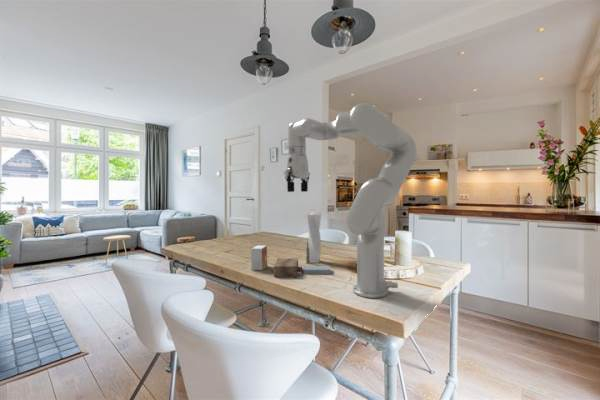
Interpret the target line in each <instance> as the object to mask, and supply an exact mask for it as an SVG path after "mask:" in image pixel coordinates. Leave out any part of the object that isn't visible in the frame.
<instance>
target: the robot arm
mask: <svg viewBox="0 0 600 400" xmlns="http://www.w3.org/2000/svg"><path fill="white" fill-rule="evenodd" d="M287 131H288V132H287V136H288V137H287V138H288V140H287V142H288V155H287V162H286V167H287V168H286V169H285V170H283V174H284V178H285V180H286V183H287V184H286V185H287V189H286V190H287V193H293V192H295V181H294V180H295V179H300V181H301V182H300V192H303V193H304V192H308V185H309V184H308V183H309V180H310V176H311V173H310V171H309V162H308V157H307V147H306V146H307V144H306V143H307V142H306V139H307V138H308V139H311V140H312V139H313V140H314V141H329V140H336V139H339V138H341V137H343V136H351V135H359V134H362V135H363V136H364V137H366V138H367V140H369V141H370V142H371V143H372V144H373V145H374V146H376V147H377V148H379V149H381V150H384V151H385V152H386V151H387V152H388V153H389V154H390V155H389V156H388V158H387V160H386V161H385V162H384V164H383V166H382V168H381V170H380V172H379V173H378V176H377V177H374V178H370V179H368V180H366V181H365V182H364V183H363V184H362V185H361V186H360V188H359V190H358V192H357V194H356V195H355V198H354V200H353V201H352V204H351V206H350V208H349V210H348V212H347V215H346V218H345V219H346V221H345V222H346V227H347V228H348V230H349V232H351V233H352V234H353V235H357V239H356V279H357V280H356V284H354V286H352V292H353V293H354V294H356V295H358V296H360V297H363V298H369V299H370V298H371V299H376V298H377V299H378V298H385V297H387V296H388V295H389V289H390V288H392V289H398V288H399V284H398V281H397V282H393V281H392V280H388V281H387V280H386V279H385V267H384V266H385V263H384V261H385V255H384V254H385V231H386V216H385V214H384V211H383V210H382V209H383V208H384V207H386V206H389V205H391V204H392V203H393V202H394V201H395V200H396V198H397V196H398V194H399V193H400V190H401V188H402V186H403V184H404V182H406V179H407V177H408V174H409V173H410V171H411V169H412V167H413V165H414V164H415V161H416V157H417V145H416V143H415V140H414V139H413V137H412V136H411V134H410V133H409V132H408V131H407V130H405V129H404V128H402V127H400V126H399V125H397V124H396V123H394V122H392V121H391V120H390V119H388V117H386V116H385V115H383V112H382V111H381V110H380V109H379V108H377V107H376V106H375V105H373V104H371V103H369V102H368V103H367V102H360V103H358V104H356V105H355V106H354V107H352V109H351V110H350V111H344V112H340V113H338V114H337V116H336V119H335V120H334V121H328V122H321V121H319V120H316V119H312V118H310V117H309V118H304V119H302V120H299V121H294V122H291V123H289V125H288V128H287Z"/></svg>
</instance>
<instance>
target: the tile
mask: <svg viewBox="0 0 600 400" xmlns="http://www.w3.org/2000/svg"><path fill="white" fill-rule="evenodd" d="M303 274H304V275H330V274H331V267H330V265H304V266H303Z"/></svg>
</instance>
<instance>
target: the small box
mask: <svg viewBox="0 0 600 400" xmlns="http://www.w3.org/2000/svg"><path fill="white" fill-rule="evenodd" d="M267 246H268V245H258V244H257V245H255V246H254V247H252V248H250V249H251V250H250V254H251V255H250V259H251V260H250V261H251V262H250V263H251V264H250V265H251V271H263V270H265V269H266V268H268V247H267Z"/></svg>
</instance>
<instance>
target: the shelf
mask: <svg viewBox="0 0 600 400" xmlns="http://www.w3.org/2000/svg"><path fill="white" fill-rule="evenodd" d="M298 270H303V266H299V258H277V259H276V262H275V263H274V266H273V278H282V277H283V278H284V277H285V278H296V277H298V276H302V271H298Z"/></svg>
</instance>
